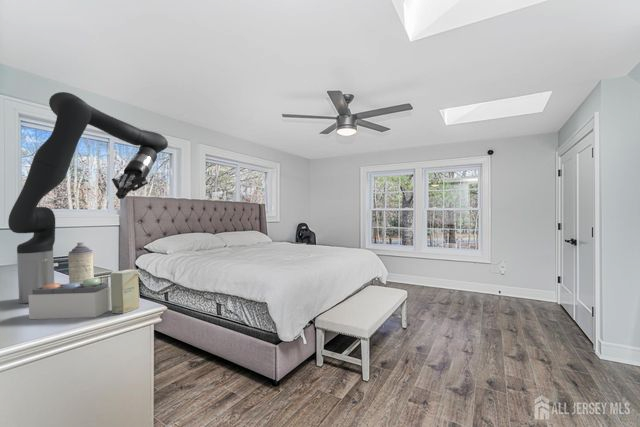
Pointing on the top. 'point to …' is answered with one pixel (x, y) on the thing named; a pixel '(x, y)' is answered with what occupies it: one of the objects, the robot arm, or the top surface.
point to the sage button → (91, 282)
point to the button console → (69, 302)
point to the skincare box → (124, 291)
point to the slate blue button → (71, 285)
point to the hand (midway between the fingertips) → (119, 197)
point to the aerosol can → (80, 264)
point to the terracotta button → (51, 286)
